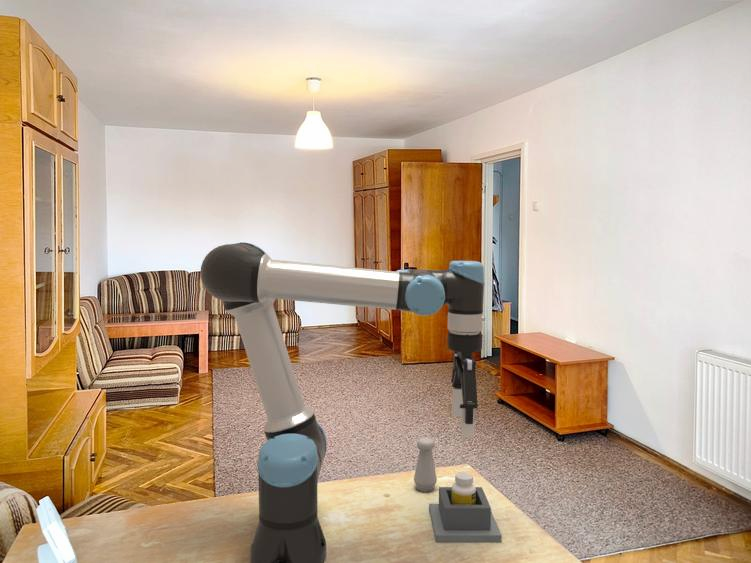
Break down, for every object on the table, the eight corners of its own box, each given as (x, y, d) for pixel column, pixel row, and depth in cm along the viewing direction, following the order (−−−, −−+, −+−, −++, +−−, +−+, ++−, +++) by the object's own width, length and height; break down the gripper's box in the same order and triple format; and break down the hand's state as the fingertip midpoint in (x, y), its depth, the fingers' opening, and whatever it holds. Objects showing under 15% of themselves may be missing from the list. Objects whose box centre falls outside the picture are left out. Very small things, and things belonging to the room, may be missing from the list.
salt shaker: (440, 486, 146) (441, 438, 145) (430, 495, 141) (431, 445, 140) (420, 481, 149) (420, 433, 148) (409, 489, 144) (410, 440, 143)
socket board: (435, 542, 120) (436, 512, 119) (428, 509, 134) (429, 483, 133) (501, 542, 120) (502, 512, 119) (487, 509, 134) (488, 483, 133)
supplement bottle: (474, 524, 124) (475, 481, 123) (450, 522, 125) (450, 479, 124) (475, 512, 129) (476, 471, 129) (451, 510, 130) (452, 469, 130)
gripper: (494, 343, 111) (491, 448, 113) (472, 322, 136) (469, 408, 138) (456, 342, 111) (453, 447, 113) (440, 322, 136) (438, 408, 137)
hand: (462, 426), depth 125 cm, fingers open, 13 cm apart
